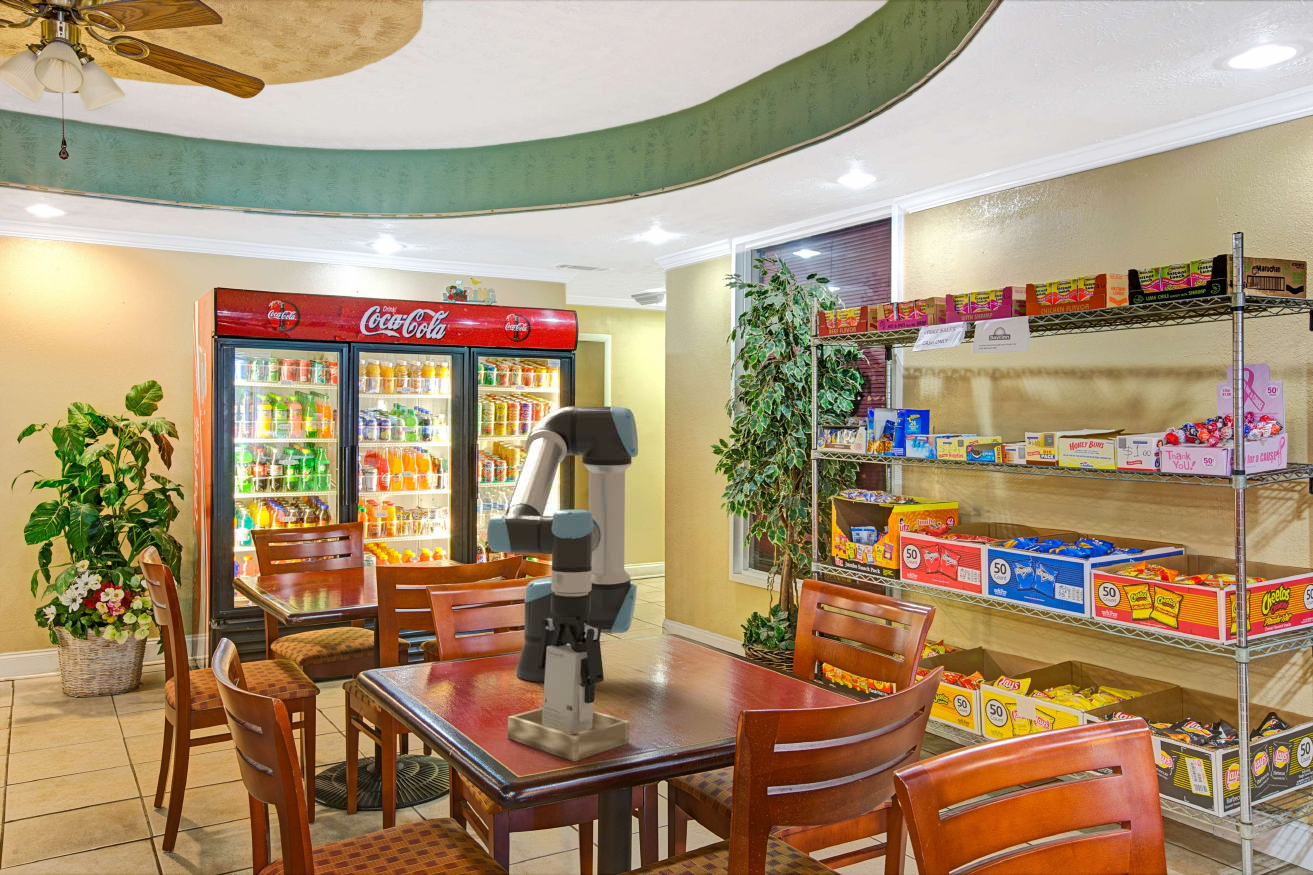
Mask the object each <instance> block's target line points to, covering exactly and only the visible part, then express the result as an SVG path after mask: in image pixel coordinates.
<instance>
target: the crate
mask: <svg viewBox="0 0 1313 875" xmlns="http://www.w3.org/2000/svg"><path fill="white" fill-rule="evenodd" d="M542 711H543V706H542V707H539V708H536V709H532V710H531V709H530V710H528V711H523V712H521V713H517V714H512V715H510V716H508V717H507V739H509V740H512V741H514V742H517V743H520V744H523V745H525V746H529V747H531V748H535V749H537V750H539V751H543V752H545V753H548V754H552V755H555V756H558V757H560V758H562V759H565V760H568V761H571V762H573V763H574V762H577V761H580V760H583V759H586V758H590V757H592V756H595V755H597V754H601V753H604V752H607V751H610V750H612V749H615V748H618V747H621V746H624V745H627V744H630V720H626V719H623V718H619V717H616V716H613V715H611V714H610V715H609V714H606V713H603V712H599V711H596V710H593V719H592V728H591V729H588V730H585V731H581V732H578V733H574V734H567V733H565V732H563V731H559V730H556V729H553V728H550V727H546V726H543V725H542Z"/></svg>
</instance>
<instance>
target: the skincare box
mask: <svg viewBox="0 0 1313 875" xmlns="http://www.w3.org/2000/svg"><path fill="white" fill-rule="evenodd" d="M584 658H587V652H583V653H578V652H574V650H572V649H571V645H570V644H566V645H562V646H547V651H546V667H545V681H544V682H543V683H544V685H543V697H542V698H543V699H542V707H543V711H542V725H543V726H546V727H550V728H553V729H556V730H559V731H563V732H565V733H567V734H574V733H578V732H581V731H585V730H588V729H591V728H592V719H593V711H594V703H595V702H592V719H589V720H586V721H583V722H580V721H579V685H580V684H582V683H583V682H582V678H581V675H580V672H581V659H584ZM588 678H589V676H588Z"/></svg>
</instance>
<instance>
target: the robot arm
mask: <svg viewBox="0 0 1313 875" xmlns="http://www.w3.org/2000/svg"><path fill="white" fill-rule="evenodd" d="M637 431H638V430H637V425H636V419H635V416H634V413H633V411H632V410H631V409H630V408H627V407H621V406H613V405H612V406H609V405H608V406H582V405H581V406H577V405H571V406H570V405H567V406H563V407H559V408H557V409H555V410H553V411H551V412H549V413H547V415H545V416H543V417H542V418H541V419H540V420H539V421H538V422H537V423H535V425H534V426H533V427H532V429H531V430H530V432H529V433H528V436H527V439H526V442H525V451H526V454H525V457H524V459H523V463H522V466H521V469H520V471H519V474H518V478H517V480H516V482H515V485H514V487H513V490H512V494H511V496H510V499H509V502H508V505H507V507H506V511H505V513H501V514H495V515H492V516H491V517H490V518H489V521H488V523H487V528H486V529H487V531H486V532H487V533H486V538H487V539H486V540H487V545H488V548H489V549H490V550H491V551H492V552H495V553H504V554H505V553H506V554H510V555H511V554H539V555H540V554H542V555H551V576H548V577H543V578H542V577H541V578H537V579H533V580H531V581H530V582H528V583H527V585H526V587H525V595H524V596H525V597H524V600H523V601H524V632H523V633H524V635H523V636H524V637H523V638H524V642H523V646H522V647H521V648H522V649H521V652H520V654H519V658H518V661H517V663H516V668H515V675H516V677H518V678H519V679H521V680H525V681H530V682H541V683H544V681H545V667H546V651H547V646H562V645H566V644H570V645H571V649H572V650H574V652H578V653H583V652H587V658H584V659H581V672H580V675H581V678H582V682H583V683H582V684H580V685H579V721H580V722H583V721H586V720H589V719H592V702H594V701H595V693H596V692H595V691H596V688H595V687H596V684H599V683H603V682H604V680H605V677H604V668H603V660H602V649H601V642H600V640H601V634H603V633H604V634H610V635H612V634H623V633H627V632H628V631H629V630H630V628H631V626H632V624H633V623H632V622H633V618H634V613H635V608H636V607H635V606H636V599H637V589H638V587H637V586H638V585H636V584H634V583H631V580H632V579H631V575H630V574H629V573H628V572H627V571H626V570H625V535H626V534H625V533H626V532H625V525H626V524H625V521H626V520H625V516H626V515H625V512H626V511H625V510H626V506H625V504H626V502H625V501H626V497H625V496H626V471H627V469H629V468H630V466H631V465H632V458H636V457H637V456H638V454H639V439H638V432H637ZM567 456H579V457H580V456H581V457H582V461H581V462H582V465H583V466H584V468H586V469H587V470H588V510H587V509H559V510H558V509H557V510H555V511H554V513H553V516H552V515H544V513H545V510H546V507H547V505H548V501H549V498H550V493H551V490H552V487H553V484H554V480H555V477H556V474H557V472H558V469H559V468H558V467H559V465H560V463H562V462H563V461H564V460H565V458H566V457H567ZM588 676H589V678H588ZM594 703H595V702H594Z"/></svg>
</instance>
